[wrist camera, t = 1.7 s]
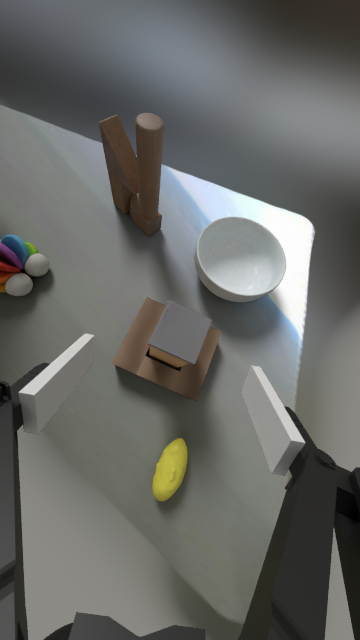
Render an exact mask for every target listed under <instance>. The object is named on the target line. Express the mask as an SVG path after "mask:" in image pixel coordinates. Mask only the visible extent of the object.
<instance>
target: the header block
mask: <svg viewBox="0 0 360 640" xmlns="http://www.w3.org/2000/svg"><path fill="white" fill-rule="evenodd" d="M165 307H166V306H165V305H163V304H161V303H159V302H157V301H154V300H152V299H150V298H148V297H147V298H146V300H145V302H144V304H143V306H142V307H141V309H140V311H139V313H138V315H137V317H136V319H135V320H134V322H133V324H132V326H131V328H130V330H129V332H128V333H127V335H126V337H125V339H124V341H123V343H122V345H121V346H120V348H119V350H118V352H117V354H116V356H115V358H114V359H113V361H112V364H114V365H116V366H118V367H121V368H123V369H125V370H127V371H129V372H132V373H134V374H136V375H138V376H141V377H143V378H145V379H147V380H150V381H152V382H154V383H156V384H158V385H161V386H163V387H165V388H167V389H170V390H172V391H174V392H176V393H179V394H181V395H183V396H185V397H187V398H190V399H192V400H194V401H196V402H197V399H198V396H199V393H200V390H201V388H202V385H203V382H204V379H205V376H206V374H207V371H208V368H209V365H210V362H211V360H212V357H213V354H214V351H215V349H216V346H217V343H218V340H219V337H220V335H221V332H222V331H219V330H217V329H215V328H213V327H211V326H209V329H208V332H207V334H206V337H205V339H204V342H203V345H202V347H201V350H200V352H199V355H198V357H197V360H196V363H195V364H194V365H191V364H186V365H184V366H181V367H179V368H178V371H177V370H175V369H173V368H171V367H168V366H166V365H164V364H162V363H160V362H157V361H155V360H153V359H151V358H148V357H146V355H147V353H148V351H149V349H150V346H149V345H148V342H149V340H150V338H151V336H152V334H153V332H154V330H155V328H156V326H157V324H158V322H159V319H160V317H161V315H162V313H163V311H164V309H165Z"/></svg>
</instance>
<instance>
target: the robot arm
mask: <svg viewBox="0 0 360 640" xmlns="http://www.w3.org/2000/svg"><path fill="white" fill-rule="evenodd" d="M94 336H95V335H90V334H84V335H83V336H82V337H80V338H79V339H78V340H77V341H76V342H75V343H74V344H73V345H71V346H70V347H69V348H68V349H67V350H66V351H65V352H64V353H62V354H61V355H60V356H59V357H58V358H57V359H56V360H54V361H53V362H52V363H51V364H48V363H42V364H40V365H38V366H36V367H34V368H33V369H32V370H31V371H29V372H28V373H27V374H26V375H24V376H23V378H21V379H19V380H18V381H17V382H16V383H15V384H13V385H12V386H11V387H10V386H9V384H8V383H7V382H5V381H0V640H28V630H27V617H26V608H25V592H24V571H23V548H22V526H21V503H20V481H19V460H18V438H17V430H18V429H19V428H20V427H21V426H22V425H23V428H24V432H28V433H34V434H39V433H40V432H41V430H42V429H43V428H44V426H45V425H46V424H47V423H48V421H49V420H50V419H51V417H52V416H53V415H54V414H55V412H56V411H57V410H58V408H59V407H60V406H61V405H62V403H63V402H64V401H65V399H66V398H67V397H68V396H69V394H70V393H71V392H72V390H73V389H74V388H75V387H76V385H77V384H78V383H79V381H80V380H81V379H82V378H83V376H84V375H85V374H86V372H87V371H88V370H89V369H90V367H91V366H92V365H93V361H94ZM241 392H242V394H243V397H244V400H245V402H246V405H247V408H248V411H249V413H250V416H251V419H252V421H253V424H254V427H255V430H256V432H257V435H258V438H259V440H260V443H261V446H262V449H263V451H264V454H265V457H266V459H267V462H268V465H269V468H270V470H271V473H272V474H277V475H283V476H285V474H286V473H287V471H288V470H290V472H291V474H292V478H291V479H290V481H289V482H288V484H287V485H286V487H285V489H286V490H287V491H286V494H285V497H284V500H283V504H282V507H281V510H280V513H279V516H278V519H277V522H276V526H275V529H274V532H273V535H272V538H271V541H270V545H269V548H268V551H267V554H266V557H265V560H264V563H263V567H262V570H261V573H260V576H259V579H258V582H257V585H256V589H255V592H254V595H253V598H252V601H251V604H250V607H249V611H248V614H247V617H246V620H245V623H244V626H243V629H242V632H241V634H240V636H239V639H238V640H324V638H325V627H326V615H327V601H328V590H329V578H330V565H331V553H332V540H333V528H335V533H336V539H337V545H338V551H339V556H340V562H341V567H342V573H343V578H344V584H345V589H346V595H347V601H348V606H349V611H350V617H351V623H352V628H353V633H354V639H355V640H360V468H355V470H353V472H350V471H348V470H346V469H344V468H341V467H339V466H337V465H336V463H335V462H334V460H333V459H332V458H331V457H330V456H329V455H328V454H326V453H325V452H323V451H322V450H320V449H317V447H316V446H315V444H314V443H313V441H312V439H311V438H310V436H309V435H308V433H307V431H306V430H305V428H303V425H302V424H301V422H300V421H299V419H298V417H297V416H296V414H295V413H294V412H293V411H292V410H291V409H290V408H289V407H285V406H283V404H282V403H281V401H280V399H279V397H278V396H277V394H276V392H275V391H274V389H273V387H272V386H271V384H270V382H269V381H268V379H267V377H266V376H265V374H264V372H263V371H262V369H261V367H257V366H251V368H250V371H249V373H248V376H247V378H246V381H245V383H244V386H243V388H242V391H241ZM44 640H205V629H199V628H192V627H183V626H177V625H173V626H170V627H168V628H165V629H162V630H160V631H157V632H154V633H151V634H149V635H146V636H143V637H139V636H136V635H135V634H133V633H132V632H130V631H129V630H128V629H126V628H125V627H123V626H122V625H120V624H119V623H117V622H116V621H114V620H113V619H111V618H110V617H108V616H100V615H93V614H85V613H78V612H77V613H76V616H75V619H74V622H73V623H71V624H68V625H66V626H63V627H61V628H60V629H58V630H56V631H55V632H53V633H52V634H50V635H49V636H47V637H46V638H45V639H44Z"/></svg>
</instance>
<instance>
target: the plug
mask: <svg viewBox="0 0 360 640" xmlns="http://www.w3.org/2000/svg"><path fill="white" fill-rule="evenodd" d="M211 321H212V320H211V319H209V318H207V317H204V316H202V315H200V314H198V313H196V312H194V311H191V310H189V309H187V308H185V307H183V306H181V305H178V304H176V303H174V302H172V301H170V300H169V301H168V303H167V305H166V307H165V309H164V311H163V313H162V315H161V317H160V319H159V322H158V324H157V326H156V328H155V330H154V332H153V334H152V336H151V338H150V340H149V342H148V345H149V346H150V352H149V357H151V358H153V359H155V360H157V361H160V362H162V363H164V364H166V365H168V366H171V367H173V368H175V369H176V368H178V367H181V366H184V365H186V364H191V365H194V364H195V363H196V360H197V357H198V355H199V352H200V350H201V347H202V345H203V342H204V339H205V337H206V334H207V332H208V329H209V326H210V324H211Z"/></svg>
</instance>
